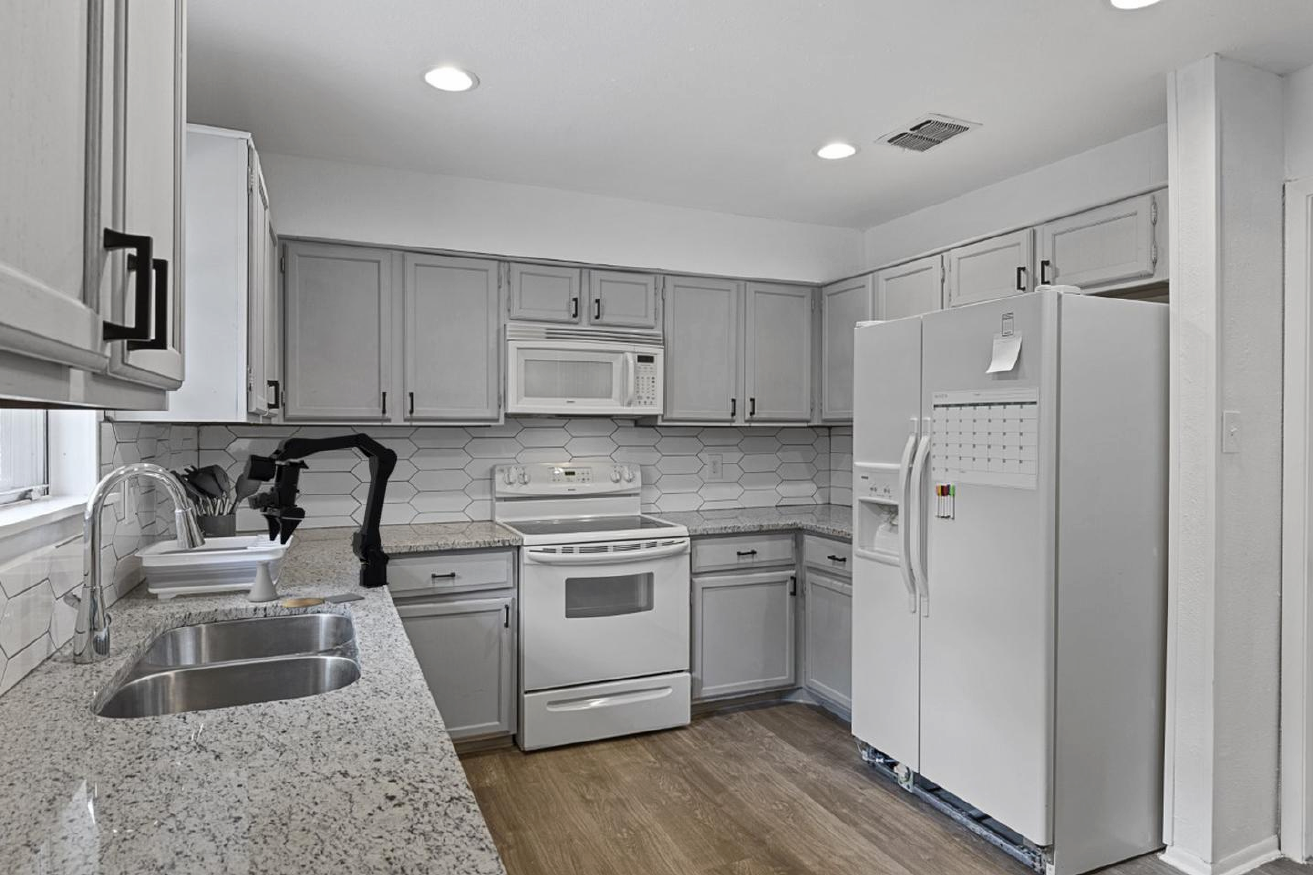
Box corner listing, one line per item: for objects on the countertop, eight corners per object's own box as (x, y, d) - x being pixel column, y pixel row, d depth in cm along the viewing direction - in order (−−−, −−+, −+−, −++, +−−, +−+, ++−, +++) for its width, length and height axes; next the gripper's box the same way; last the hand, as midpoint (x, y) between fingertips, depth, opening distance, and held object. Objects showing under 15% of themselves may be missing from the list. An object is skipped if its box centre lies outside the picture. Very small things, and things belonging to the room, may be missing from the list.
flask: (284, 598, 208) (283, 560, 208) (258, 603, 202) (257, 565, 202) (268, 595, 212) (268, 558, 212) (242, 600, 206) (241, 562, 206)
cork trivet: (315, 597, 209) (315, 595, 209) (329, 603, 202) (329, 601, 202) (275, 602, 203) (275, 601, 203) (288, 609, 195) (288, 607, 195)
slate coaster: (352, 594, 212) (352, 593, 212) (364, 599, 207) (364, 597, 207) (322, 598, 207) (322, 597, 207) (333, 603, 201) (333, 602, 201)
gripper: (243, 479, 211) (234, 537, 209) (264, 482, 197) (254, 544, 195) (287, 483, 218) (278, 539, 217) (309, 487, 204) (300, 547, 203)
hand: (277, 542), depth 208 cm, fingers open, 9 cm apart
